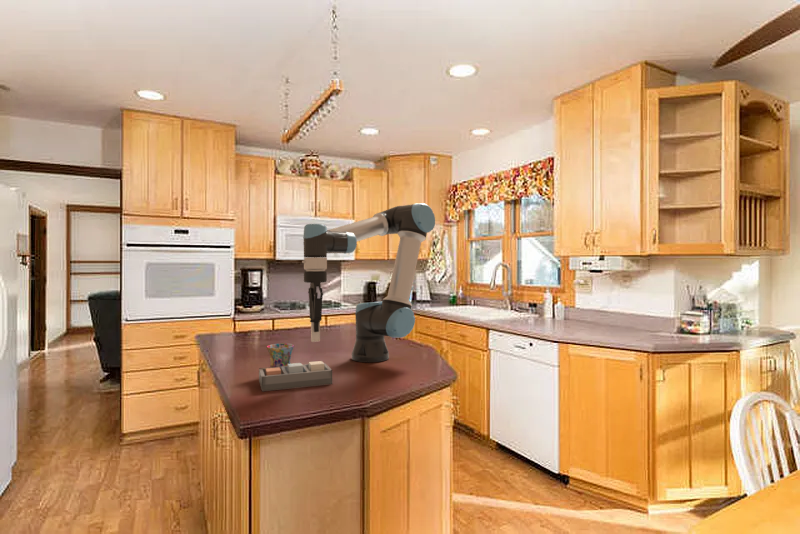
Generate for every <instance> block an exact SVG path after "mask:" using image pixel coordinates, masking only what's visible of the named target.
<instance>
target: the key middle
mask: <svg viewBox="0 0 800 534" xmlns="http://www.w3.org/2000/svg"><path fill="white" fill-rule="evenodd" d="M287 365H288V373H289V374H290V373H300V372H303V363H301V362H295V363H290V364H287Z"/></svg>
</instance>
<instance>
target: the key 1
mask: <svg viewBox="0 0 800 534" xmlns="http://www.w3.org/2000/svg"><path fill="white" fill-rule="evenodd" d="M266 368H267V369H266V376H268V375H279V374H281V369H280V367H278V368H269V367H266Z"/></svg>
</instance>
